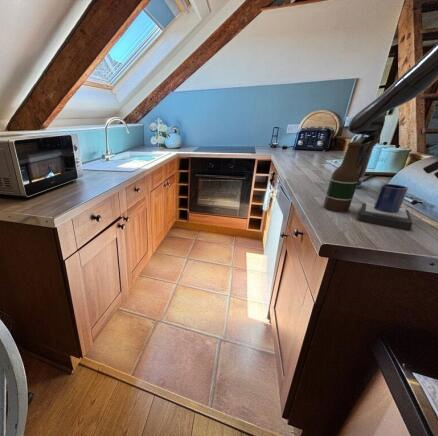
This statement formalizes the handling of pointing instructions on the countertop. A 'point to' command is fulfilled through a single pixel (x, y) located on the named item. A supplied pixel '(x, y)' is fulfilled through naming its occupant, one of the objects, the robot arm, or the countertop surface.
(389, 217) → the kitchen scale
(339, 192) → the beer bottle
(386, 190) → the blue pot
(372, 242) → the countertop surface
